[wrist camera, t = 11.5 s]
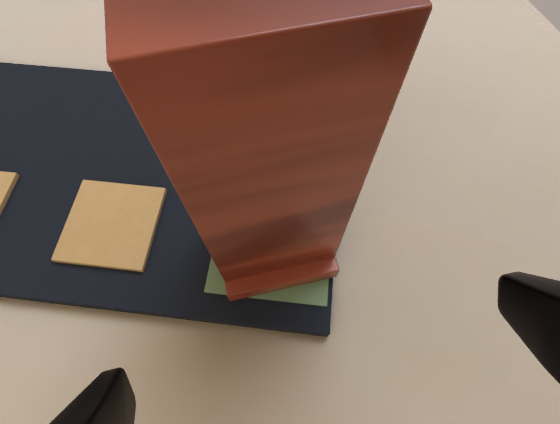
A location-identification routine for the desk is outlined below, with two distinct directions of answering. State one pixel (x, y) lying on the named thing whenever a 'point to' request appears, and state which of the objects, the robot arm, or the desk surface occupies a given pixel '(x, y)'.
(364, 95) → the reddish brown square pillar
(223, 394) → the desk surface
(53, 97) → the dark blue mat
